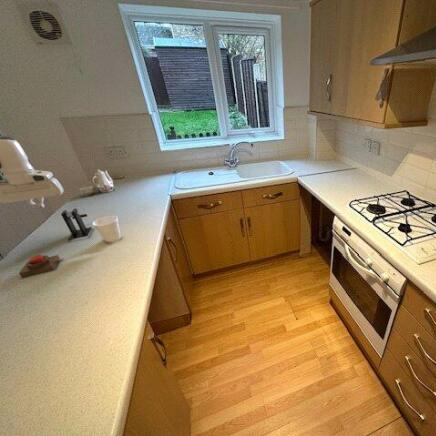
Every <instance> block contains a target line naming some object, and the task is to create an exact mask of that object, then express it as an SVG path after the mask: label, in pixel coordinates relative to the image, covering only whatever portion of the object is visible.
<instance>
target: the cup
mask: <svg viewBox="0 0 436 436" xmlns="http://www.w3.org/2000/svg"><path fill="white" fill-rule="evenodd" d="M118 219H119V218H118V216H116V215H107V216H103V217H101V218H98V219H95V220H94V221H93V222H92V224H91V225H92V227H94V228H95V229H96V231H97V232H98V233H99V235H100V236H101V237H102V238H103V240H104V241H105V243H112V242H115V241H116V242H117V241H118V240H119V239H121V237H122V236H121V231H120V225H119V220H118Z"/></svg>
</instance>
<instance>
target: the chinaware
mask: <svg viewBox="0 0 436 436" xmlns="http://www.w3.org/2000/svg"><path fill="white" fill-rule="evenodd" d="M95 179H96V180H97V183H95V182H96V181H95ZM91 180H92V184H93V185H95V186H96V188H95V186H92V185H88V186H82V187H81V188H78V191H80V195H82V196H83V197H84V196H85V197H89V196H90V197H91V196H93V193H94V188H95V189H96V190H97V191H98V192H99V193H101V194H105V193H110V192H112V191H114V190H115V189H114V187H115V182H116V180H115V179H113V178H112V177H111V176H110V175H109V173H108V170H105V171H102V170H100V169H97V171H96V172H95V173H94V176H93V177H92V179H91Z"/></svg>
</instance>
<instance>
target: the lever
mask: <svg viewBox="0 0 436 436" xmlns="http://www.w3.org/2000/svg"><path fill="white" fill-rule="evenodd" d="M72 211H73V210H71V211H67V212H66V215H67V217H70V218H71V219H72V220H75V218H74V216H73V214H72ZM79 215H80V217H81V219H83V218H86V217H88V214H87V213H83V214H79Z"/></svg>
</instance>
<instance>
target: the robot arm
mask: <svg viewBox="0 0 436 436" xmlns="http://www.w3.org/2000/svg"><path fill="white" fill-rule="evenodd" d="M0 172H1V173H2V175H3V177H4V179H0V204H11V203H17V202H23V201H26V203H27V204H28V205H30V206H32V207H33V209H34V210H37V209H44V208H45V203H44V200H45V198H49V197H54V196H55V197H56V196H61V195H62V194H63V193H64V188H63V185H62V184H61V183H60V182H59V180H58V179H57V178H55V177H53V176H54V174H53V172H52V171H49V170H48V171H47V170H39V169H35V168H34V167H33V165H32V164H31V163H30V162H29V157H28V155H27V154H26V151H25V150H24V148H23V147H22V146H21V144H20V142H19V141H18V140H16V139H15V138H13V137H11V136H6V135H0ZM36 199H37V201H39V202H38V203H36V202H34V201H33V200H36Z"/></svg>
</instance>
